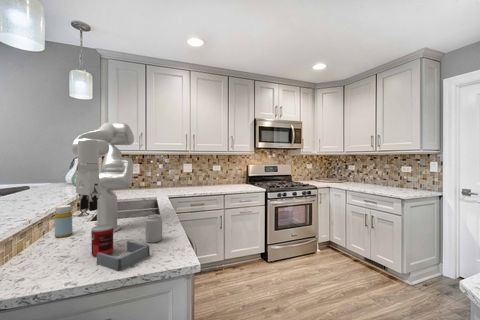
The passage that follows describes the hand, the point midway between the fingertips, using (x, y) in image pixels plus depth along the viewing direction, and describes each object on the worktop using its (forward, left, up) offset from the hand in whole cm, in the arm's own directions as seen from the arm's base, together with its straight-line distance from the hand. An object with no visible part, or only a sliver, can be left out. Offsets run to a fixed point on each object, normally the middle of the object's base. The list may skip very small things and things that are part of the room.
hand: (88, 209), depth 99 cm
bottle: (-29, +5, -18) cm, 34 cm away
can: (+17, +20, -18) cm, 32 cm away
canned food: (+9, 0, -18) cm, 20 cm away
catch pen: (+22, 0, -17) cm, 28 cm away
